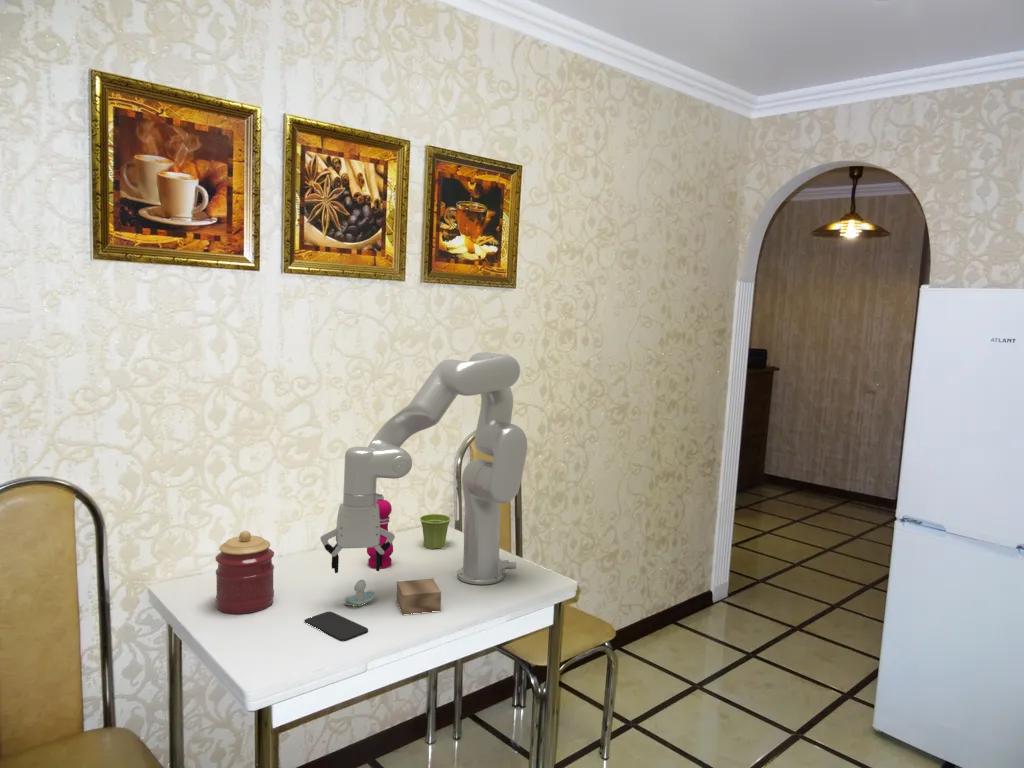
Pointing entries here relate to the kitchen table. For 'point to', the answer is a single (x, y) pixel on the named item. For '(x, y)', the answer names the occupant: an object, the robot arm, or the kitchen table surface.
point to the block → (418, 596)
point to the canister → (244, 574)
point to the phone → (337, 626)
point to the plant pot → (434, 530)
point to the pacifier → (360, 595)
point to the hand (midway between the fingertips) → (356, 570)
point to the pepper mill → (384, 520)
